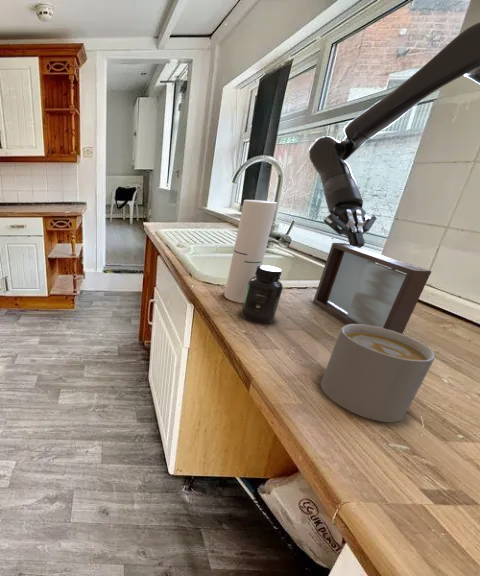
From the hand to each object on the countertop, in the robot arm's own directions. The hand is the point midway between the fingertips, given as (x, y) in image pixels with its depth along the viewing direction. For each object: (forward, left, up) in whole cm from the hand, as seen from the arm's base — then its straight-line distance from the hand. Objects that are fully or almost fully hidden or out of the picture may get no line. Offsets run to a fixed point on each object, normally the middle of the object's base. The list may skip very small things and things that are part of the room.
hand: (358, 247), depth 80 cm
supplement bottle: (+34, -1, -14) cm, 37 cm away
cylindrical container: (+28, -11, -14) cm, 33 cm away
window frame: (+15, +9, -14) cm, 23 cm away
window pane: (+8, +7, -13) cm, 17 cm away
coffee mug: (+42, +23, -14) cm, 50 cm away
